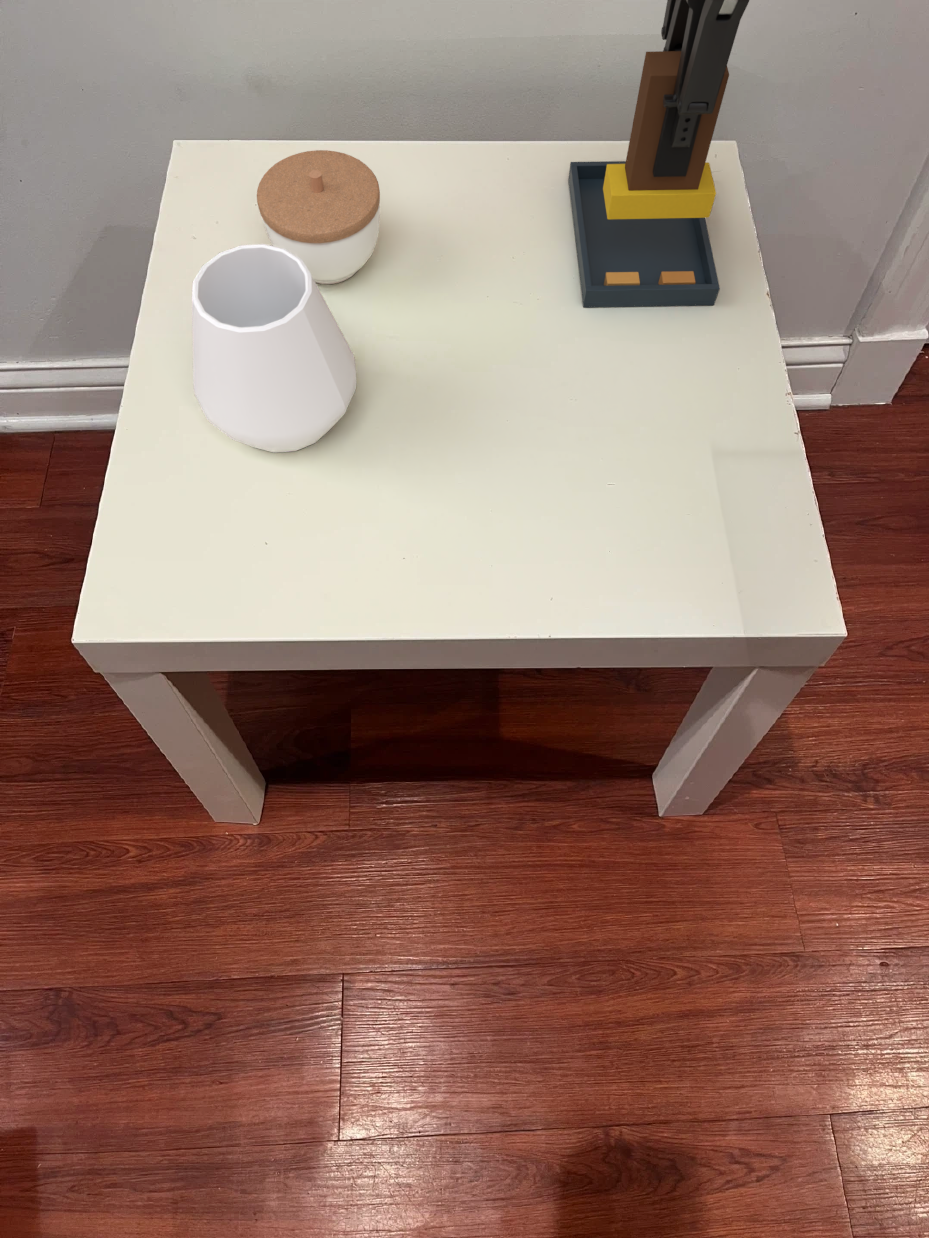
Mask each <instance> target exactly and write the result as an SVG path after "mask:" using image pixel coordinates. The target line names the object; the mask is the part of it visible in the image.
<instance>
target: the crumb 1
mask: <svg viewBox="0 0 929 1238" xmlns="http://www.w3.org/2000/svg"><path fill="white" fill-rule="evenodd" d="M616 285H640V280H639V273H638V272H606V275H605V280H604V286H616Z"/></svg>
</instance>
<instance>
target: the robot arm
mask: <svg viewBox="0 0 929 1238" xmlns="http://www.w3.org/2000/svg"><path fill="white" fill-rule="evenodd" d="M749 3H750V0H666V6H665V12H664V18H663V22H662V27H661V28H660V29H661V31H660V32H661V33H660V34H661V39H662V41H665V43H664V47H663V50H662V51H681V57H680V62H679V68H678V73H677V79H676V84H675V90H674V94H671V95H664V97H663V106H664V107H666V111H665V116H664V121H663V125H662V130H661V134H660V139H659V144H658V148H657V153H656V158H655V162H654V167H653V176H654V177H681V176H686V174H687V170H688V166H689V162H690V158H691V154H692V150H693V146H694V143H695V139H696V135H697V131H698V127H699V123H700V119H701V115H702V114H712V113H713V110H714V108H715V103H716V100H717V97H718V93H719V90H720V87H721V83H722V80H723V77H724V73H725V70H726V66H727V67H728V63H729V60H730V56H731V53H732V49H733V46H734V42H735V40H736V36H737V33H738V30H739V26H740V23H741V20H742V19H743V15H744V14H745V12H746V9H747V7H748V5H749Z"/></svg>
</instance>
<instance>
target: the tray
mask: <svg viewBox="0 0 929 1238" xmlns="http://www.w3.org/2000/svg"><path fill="white" fill-rule="evenodd" d="M625 163H626V160H611V161H609V160H607V161H606V160H605V161H603V160H602V161H599V160H598V161H570V163H569V171H568V178H567V179H568V180H567V182H568V183H567V184H568V190H569V191H568V192H569V199H570V208H571V215H572V224H573V225H572V226H573V233H574V241H575V248H576V259H577V268H578V275H579V285H580V293H581V300H582V301H581V302H582V307H583V308H585V309H586V308H590V309H591V308H639V307H641V308H642V307H644V308H646V307H701V306H702V307H707V306H708V307H709V306H711V307H712V306H715V303H716V300H717V297H718V295H719V292H720V288H721V287H720V284H719V279H718V274H717V270H716V269H717V268H716V264H715V259H714V255H713V250H712V249H713V248H712V245H711V241H710V236H709V230H708V226H707V221H706V218H662V219H607V213H606V206H605V199H604V192H603V186H604V179H605V173H606V167H607V164H625ZM672 271H693V272H694V277H695V284H680V285H659V284H658V283H659V279H660V275H661V272H672ZM606 272H638V273H639V280H640V285H616V286H604V280H605V275H606Z"/></svg>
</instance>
